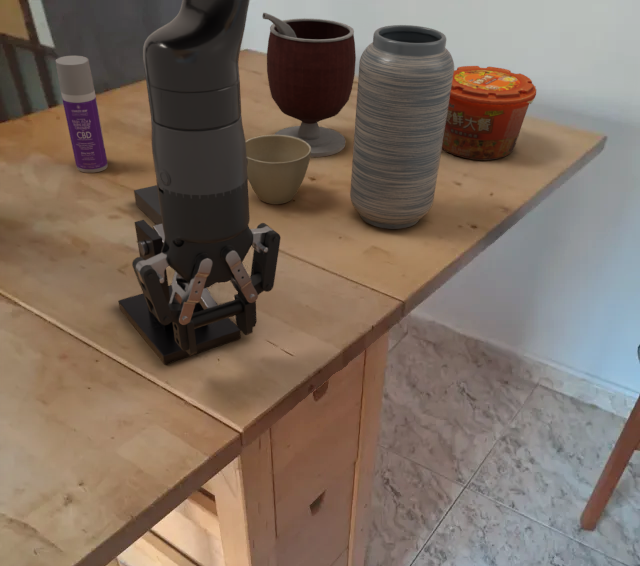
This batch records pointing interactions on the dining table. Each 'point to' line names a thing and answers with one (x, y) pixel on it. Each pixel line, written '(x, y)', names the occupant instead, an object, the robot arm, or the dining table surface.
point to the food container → (486, 112)
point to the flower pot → (276, 166)
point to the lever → (209, 302)
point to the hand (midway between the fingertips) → (217, 339)
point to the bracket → (147, 322)
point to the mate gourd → (311, 76)
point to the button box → (149, 203)
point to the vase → (400, 124)
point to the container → (82, 113)
